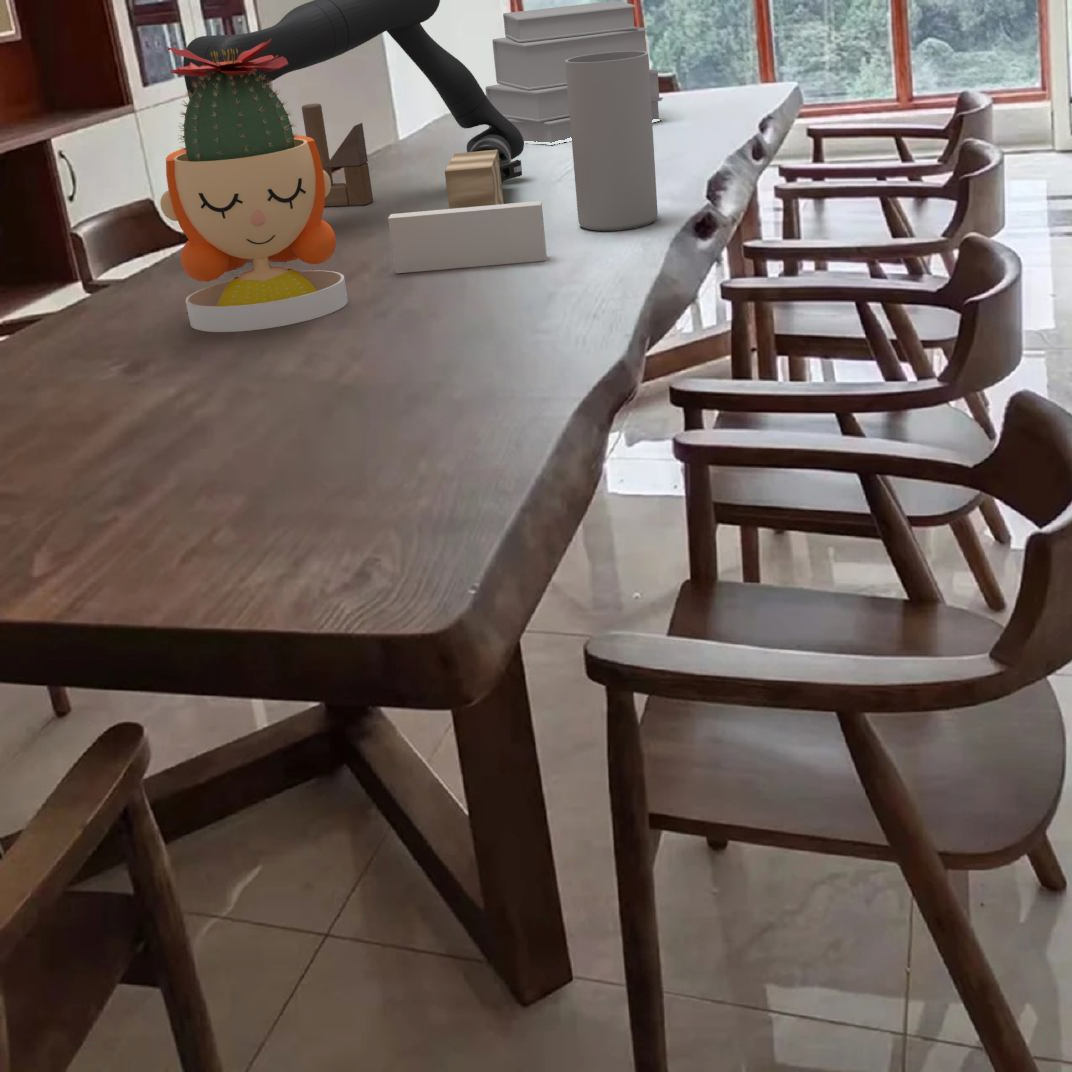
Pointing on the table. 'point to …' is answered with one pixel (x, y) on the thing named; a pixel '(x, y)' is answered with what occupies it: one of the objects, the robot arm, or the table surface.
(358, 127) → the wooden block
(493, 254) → the board
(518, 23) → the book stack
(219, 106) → the potted cactus
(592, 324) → the table surface
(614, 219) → the cylinder vase
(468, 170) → the maple block
